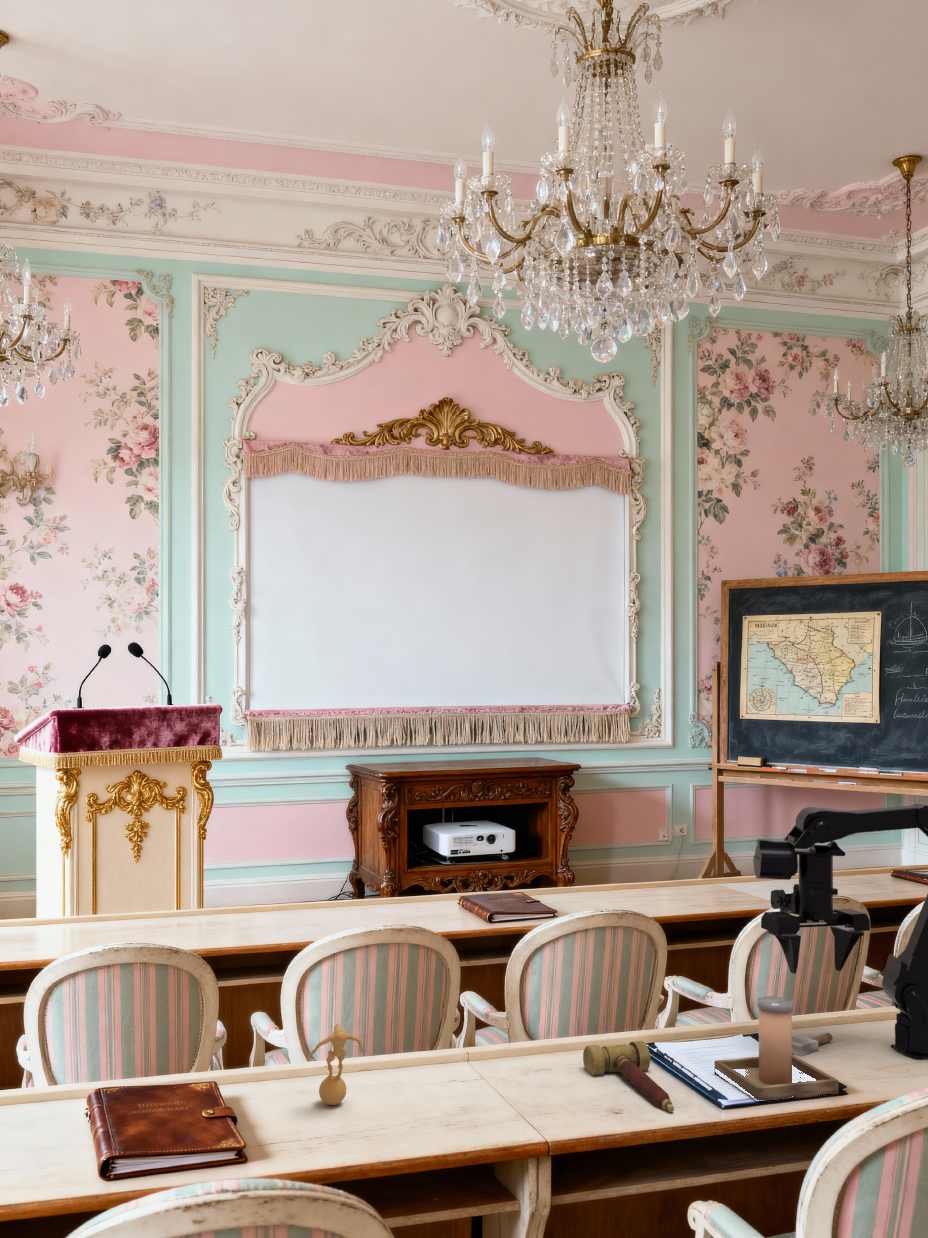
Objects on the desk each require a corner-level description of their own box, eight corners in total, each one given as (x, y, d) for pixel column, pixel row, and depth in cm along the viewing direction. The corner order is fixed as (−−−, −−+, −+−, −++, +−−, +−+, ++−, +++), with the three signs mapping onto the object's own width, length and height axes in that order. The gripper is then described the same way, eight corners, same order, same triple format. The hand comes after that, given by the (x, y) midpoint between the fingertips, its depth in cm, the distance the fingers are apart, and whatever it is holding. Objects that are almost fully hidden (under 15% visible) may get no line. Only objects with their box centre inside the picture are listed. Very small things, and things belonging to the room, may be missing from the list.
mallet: (819, 1038, 187) (819, 1029, 187) (838, 1044, 184) (838, 1035, 184) (780, 1049, 180) (780, 1040, 180) (800, 1056, 177) (800, 1046, 177)
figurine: (355, 1096, 156) (357, 1013, 157) (367, 1110, 151) (369, 1025, 152) (301, 1103, 153) (303, 1019, 154) (311, 1118, 147) (314, 1031, 148)
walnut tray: (790, 1066, 172) (790, 1053, 172) (838, 1094, 160) (838, 1080, 160) (714, 1073, 168) (714, 1061, 168) (758, 1102, 156) (758, 1088, 156)
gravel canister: (768, 1071, 168) (767, 994, 169) (799, 1080, 164) (799, 1001, 165) (751, 1079, 164) (751, 1000, 165) (783, 1088, 160) (782, 1008, 161)
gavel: (703, 1090, 153) (641, 1097, 150) (702, 1122, 153) (640, 1129, 150) (638, 1036, 173) (582, 1041, 170) (637, 1064, 173) (582, 1070, 170)
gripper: (831, 872, 193) (831, 958, 192) (743, 874, 188) (743, 963, 187) (872, 882, 183) (872, 973, 182) (780, 885, 177) (780, 979, 176)
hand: (815, 972), depth 182 cm, fingers open, 9 cm apart
